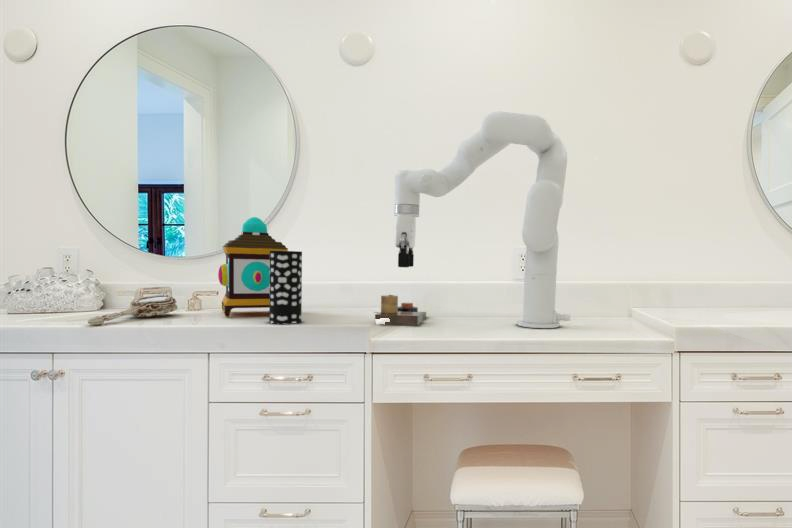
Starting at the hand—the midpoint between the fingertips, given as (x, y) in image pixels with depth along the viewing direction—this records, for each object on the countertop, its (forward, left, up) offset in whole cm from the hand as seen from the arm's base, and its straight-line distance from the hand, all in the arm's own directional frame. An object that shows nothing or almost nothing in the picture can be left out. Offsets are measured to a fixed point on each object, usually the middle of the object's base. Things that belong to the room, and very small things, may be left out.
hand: (405, 266), depth 171 cm
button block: (0, -2, -16) cm, 16 cm away
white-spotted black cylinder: (+31, +16, -16) cm, 39 cm away
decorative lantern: (+47, -1, -16) cm, 49 cm away
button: (0, -1, -13) cm, 13 cm away
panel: (0, +11, -16) cm, 20 cm away
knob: (+3, +11, -13) cm, 18 cm away
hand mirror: (+71, +19, -16) cm, 75 cm away
